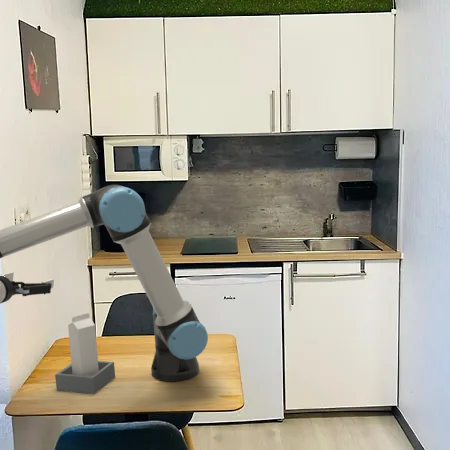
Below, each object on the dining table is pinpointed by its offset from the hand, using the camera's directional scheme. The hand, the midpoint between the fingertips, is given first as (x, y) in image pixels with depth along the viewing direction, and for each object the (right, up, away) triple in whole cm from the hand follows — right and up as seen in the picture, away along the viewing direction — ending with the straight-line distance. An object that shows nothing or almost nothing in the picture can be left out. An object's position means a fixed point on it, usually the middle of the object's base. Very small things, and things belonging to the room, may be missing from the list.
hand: (32, 279), depth 193 cm
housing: (+17, -32, 0) cm, 36 cm away
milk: (+17, -32, 0) cm, 37 cm away
